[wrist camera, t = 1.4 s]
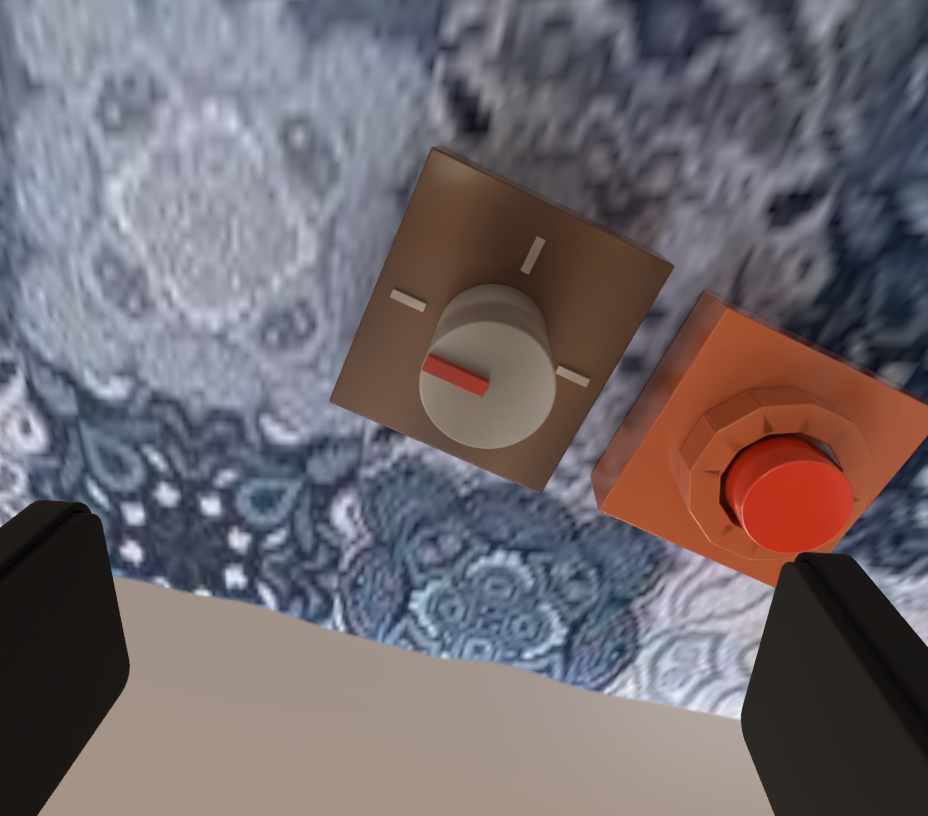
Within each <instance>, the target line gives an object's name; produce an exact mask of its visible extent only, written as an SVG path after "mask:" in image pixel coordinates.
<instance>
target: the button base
mask: <svg viewBox="0 0 928 816" xmlns="http://www.w3.org/2000/svg"><path fill="white" fill-rule="evenodd" d="M927 436H928V402H926V401H925V400H923V399H922V398H920V397H918V396H917V395H915V394H914V393H912V392H911V391H909V390H908V389H906V388H904V387H903V386H901V385H899V384H897V383H895V382H893V381H891V380H889V379H887V378H885V377H883V376H881V375H879V374H877V373H875V372H873V371H871V370H869V369H867V368H864V367H862V366H860V365H858V364H856V363H854V362H852V361H850V360H848V359H846V358H844V357H842V356H840V355H838V354H836V353H834V352H832V351H830V350H828V349H826V348H824V347H822V346H819V345H817V344H815V343H813V342H811V341H809V340H807V339H805V338H803V337H801V336H799V335H797V334H795V333H793V332H791V331H789V330H787V329H785V328H783V327H781V326H779V325H777V324H775V323H772V322H770V321H768V320H766V319H764V318H762V317H760V316H758V315H756V314H754V313H752V312H750V311H748V310H746V309H744V308H742V307H740V306H738V305H736V304H734V303H732V302H730V301H727V300H725V299H723V298H721V297H719V296H717V295H715V294H713V293H711V292H709V291H707V290H705V291H704V292H703V293H702V295H701V297H700V298H699V300H698V302H697V303H696V305H695V306H694V308H693V310H692V311H691V313H690V314H689V316H688V318H687V319H686V321H685V323H684V324H683V326H682V327H681V329H680V331H679V332H678V334H677V336H676V337H675V339H674V340H673V342H672V344H671V345H670V347H669V349H668V350H667V352H666V353H665V355H664V357H663V358H662V360H661V362H660V363H659V365H658V366H657V368H656V370H655V371H654V373H653V375H652V376H651V378H650V379H649V381H648V383H647V384H646V386H645V388H644V389H643V391H642V392H641V394H640V396H639V397H638V399H637V401H636V402H635V404H634V405H633V407H632V409H631V410H630V412H629V413H628V415H627V417H626V418H625V420H624V422H623V423H622V425H621V426H620V428H619V430H618V431H617V433H616V435H615V436H614V438H613V439H612V441H611V443H610V444H609V446H608V448H607V449H606V451H605V452H604V454H603V456H602V457H601V459H600V461H599V462H598V464H597V465H596V467H595V469H594V470H593V472H592V474H591V476H590V477H591V481H592V485H593V489H594V494H595V498H596V502H597V506H598V510H599V511H601V512H603V513H606V514H608V515H610V516H613V517H615V518H617V519H619V520H622V521H624V522H626V523H628V524H631V525H633V526H635V527H638V528H640V529H642V530H644V531H647V532H649V533H651V534H654V535H656V536H658V537H660V538H663V539H665V540H667V541H669V542H672V543H674V544H676V545H679V546H681V547H683V548H685V549H688V550H690V551H692V552H695V553H697V554H699V555H701V556H704V557H706V558H708V559H710V560H713V561H715V562H717V563H720V564H722V565H724V566H726V567H729V568H731V569H733V570H736V571H738V572H740V573H742V574H745V575H747V576H749V577H751V578H754V579H756V580H758V581H761V582H763V583H765V584H767V585H770V586H772V587H774V588H776V585H777V581H778V578H779V574H780V571H781V568H782V566H783V565H784V564H785V563H786V562H794V560H795V558H796V557H797V556H798V554H799V553H778V552H774V551H770V550H768V549H765V548H763V547H761V546H759V545H758V544H756V543H755V542H753V541H752V540H751V539H750V538H749V536H748V535H747V534H746V532H745V531H744V529H743V527H742V526H741V524H740V522H739V521H738V519H737V517H736V516H735V514H734V512H733V510H732V509H731V507H730V505H729V503H728V501H727V498H726V494H725V481H726V477H727V473H728V471H729V469H730V467H731V465H732V464H733V462H734V461H735V460H736V458H737V457H738V456H739V455H740V454H741V453H742V452H743V451H745V450H746V449H747V448H749V447H751V446H752V445H754V444H756V443H758V442H760V441H763V440H766V439H770V438H775V437H794V438H799V439H803V440H805V441H808V442H810V443H812V444H813V445H815V446H816V447H817V448H819V449H820V450H821V451H822V452H823V453H824V454H825V455H826V456H827V457H828V458H829V459H830V460H831V462H832V463H833V464H834V465H835V466H836V467H837V468H838V469H839V470H840V471H841V472H842V473H843V474H844V475H845V476H846V477H847V479H848V480H849V482H850V484H851V486H852V490H853V495H854V505H853V510H852V513H851V516H850V518H849V520H848V522H847V524H846V525H845V527H844V528H843V529H842V530H841V531H840V532H839V534H838V535H836V536H835V537H834V538H833V539H831V540H830V541H829V542H827V543H825V544H824V545H822V546H820V547H817V548H815V549H812V550H809V551H806V552H817V553H830V551H831V550H832V549H833V548H834V547H835V546H836V544H837V543H838V542H839V541H840V540H841V538H842V537H843V536H844V535H845V534H846V532H847V531H848V530H849V529H850V528H851V526H852V525H853V524H854V523H855V522H856V520H857V519H858V518H859V517H860V516H861V514H862V513H863V512H864V511H865V510H866V508H867V507H868V506H869V505H870V504H871V503H872V501H873V500H874V499H875V498H876V497H877V495H878V494H879V493H880V492H881V491H882V489H883V488H884V487H885V486H886V485H887V483H888V482H889V481H890V480H891V479H892V477H893V476H894V475H895V474H896V473H897V471H898V470H899V469H900V468H901V467H902V465H903V464H904V463H905V462H906V461H907V460H908V458H909V457H910V456H911V455H912V454H913V452H914V451H915V450H916V449H917V448H918V446H919V445H920V444H921V443H922V442H923V440H924V439H925V438H926V437H927ZM801 553H802V552H801Z"/></svg>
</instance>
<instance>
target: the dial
mask: <svg viewBox="0 0 928 816" xmlns="http://www.w3.org/2000/svg"><path fill="white" fill-rule="evenodd" d="M556 383H557V382H556V374H555V369H554V363H553V358H552V353H551V348H550V343H549V337H548V332H547V327H546V323H545V320H544V318H543V315H542V313H541V311H540V310H539V308H538V307H537V306H536V304H535V303H534V302H533V301H532V300H531V299H530V298H529V297H528V296H526V295H525V294H524V293H522V292H521V291H519V290H517V289H515V288H512V287H510V286H506V285H501V284H483V285H478V286H474V287H471V288H469V289H467V290H465V291H463V292H461V293H460V294H458V295H457V296H456V297H455V298H453V299H452V301H451V302H450V303H449V304H448V305H447V306H446V308H445V309H444V311H443V313H442V315H441V317H440V320H439V322H438V325H437V327H436V330H435V333H434V335H433V338H432V341H431V343H430V346H429V349H428V351H427V354H426V356H425V359H424V362H423V364H422V367H421V372H420V379H419V388H420V396H421V400H422V403H423V406H424V408H425V410H426V412H427V414H428V416H429V418H430V419H431V420H432V422H433V423H434V424H435V425H436V426H437V428H438V429H440V430H441V431H442V432H443V433H444V434H445V435H447V436H448V437H450V438H451V439H453V440H455V441H457V442H459V443H461V444H464V445H467V446H471V447H475V448H483V449H494V448H502V447H506V446H510V445H513V444H515V443H518V442H520V441H522V440H524V439H526V438H527V437H528V436H530V435H531V434H533V433H534V432H535V431H536V430H537V429H538V428H539V427H540V426H541V425H542V424H543V423H544V421H545V420H546V418H547V417H548V415H549V413H550V411H551V409H552V407H553V404H554V400H555V396H556Z"/></svg>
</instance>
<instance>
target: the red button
mask: <svg viewBox="0 0 928 816" xmlns="http://www.w3.org/2000/svg"><path fill="white" fill-rule="evenodd" d="M725 494H726V498H727V501H728V503H729V505H730V507H731V509H732V510H733V512H734V514H735V516H736V517H737V519H738V521H739V522H740V524H741V526H742V527H743V529H744V531H745V532H746V534H747V535H748V536H749V538H750V539H751V540H752V541H753V542H755V543H756V544H758V545H759V546H761V547H763V548H765V549H768V550H770V551H774V552H778V553H801V552H806V551H809V550H812V549H815V548H817V547H820V546H822V545H824V544H825V543H827V542H829V541H830V540H831V539H833V538H834V537H835V536H836V535H838V534H839V532H840V531H841V530H842V529H843V528H844V527H845V525H846V524H847V522H848V520H849V518H850V516H851V513H852V510H853V505H854V495H853V490H852V486H851V484H850V482H849V480H848V479H847V477H846V476H845V475H844V474H843V473H842V472H841V471H840V470H839V469H838V468H837V467H836V466H835V465H834V464H833V463H832V462H831V460H830V459H829V458H828V457H827V456H826V455H825V454H824V453H823V452H822V451H821V450H820V449H819V448H817V447H816V446H815V445H813V444H812V443H810V442H808V441H805V440H803V439H799V438H794V437H775V438H770V439H766V440H763V441H760V442H758V443H756V444H754V445H752V446H751V447H749V448H747V449H746V450H745V451H743V452H742V453H741V454H740V455H739V456H738V457H737V458H736V460H735V461H734V462H733V464H732V465H731V467H730V469H729V471H728V473H727V477H726V481H725Z"/></svg>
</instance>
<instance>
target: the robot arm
mask: <svg viewBox="0 0 928 816" xmlns="http://www.w3.org/2000/svg"><path fill="white" fill-rule="evenodd" d="M129 669H130V664H129V657H128V652H127V648H126V642H125V637H124V632H123V627H122V622H121V617H120V612H119V607H118V602H117V597H116V592H115V587H114V582H113V576H112V571H111V566H110V561H109V556H108V551H107V546H106V541H105V536H104V531H103V526H102V523H101V520H100V518H99V517H98V516H97V515H95V514H91V511H90V509H89V508H88V507H87V505H85V504H83V503H80V502H65V501H50V500H39V501H36V502H34V503H32V504H30V505H29V506H28V507H26V508H25V509H24V510H22V511H21V512H20V513H19V514H17V515H16V516H15V517H13V518H12V519H11V520H10V521H8V522H7V523H6V524H4V525H3V526H2V527H1V528H0V816H37V815H38V814H39V812H40V811H41V809H42V808H43V806H44V805H45V804H46V802H47V801H48V799H49V798H50V796H51V795H52V793H53V792H54V790H55V789H56V788H57V786H58V785H59V783H60V782H61V780H62V779H63V777H64V776H65V774H66V773H67V772H68V770H69V769H70V767H71V766H72V764H73V763H74V761H75V760H76V758H77V757H78V755H79V754H80V753H81V751H82V749H83V748H84V747H85V745H86V744H87V742H88V741H89V739H90V738H91V737H92V735H93V734H94V732H95V731H96V729H97V728H98V726H99V725H100V723H101V722H102V720H103V719H104V718H105V716H106V715H107V713H108V712H109V710H110V709H111V707H112V706H113V704H114V703H115V702H116V700H117V699H118V697H119V696H120V694H121V693H122V691H123V689H124V687H125V685H126V682H127V680H128V676H129ZM741 726H742V732H743V736H744V740H745V742H746V744H747V747H748V750H749V752H750V755H751V757H752V760H753V762H754V765H755V767H756V770H757V772H758V775H759V777H760V780H761V782H762V785H763V787H764V790H765V792H766V794H767V797H768V800H769V802H770V805H771V807H772V810H773V812H774V814H775V816H928V647H927V646H926V645H925V643H924V642H923V641H922V640H921V639H920V637H919V636H918V635H917V634H916V633H915V631H914V630H913V629H912V628H911V627H910V625H909V624H908V623H907V622H906V621H905V619H904V618H903V617H902V616H901V615H900V613H899V612H898V611H897V610H896V609H895V607H894V606H893V605H892V604H891V603H890V601H889V600H888V599H887V598H886V597H885V595H884V594H883V593H882V592H881V591H880V589H879V588H878V587H877V586H876V585H875V583H874V582H873V581H872V580H871V579H870V577H869V576H868V575H867V574H866V573H865V571H864V570H863V569H862V568H861V567H860V565H859V564H858V563H857V562H856V561H855V560H854V559H853V558H852V557H851V556H849V555H845V554H831V553H817V552H802V553H799V554H798V556H797V557H796V558H795V560H794V562H786V563H785V564H784V565H783V566H782V568H781V571H780V574H779V578H778V581H777V585H776V589H775V592H774V596H773V599H772V603H771V606H770V610H769V614H768V617H767V621H766V624H765V628H764V632H763V635H762V639H761V642H760V646H759V650H758V653H757V657H756V660H755V664H754V668H753V671H752V675H751V678H750V682H749V685H748V689H747V693H746V696H745V700H744V703H743V707H742V712H741Z"/></svg>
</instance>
